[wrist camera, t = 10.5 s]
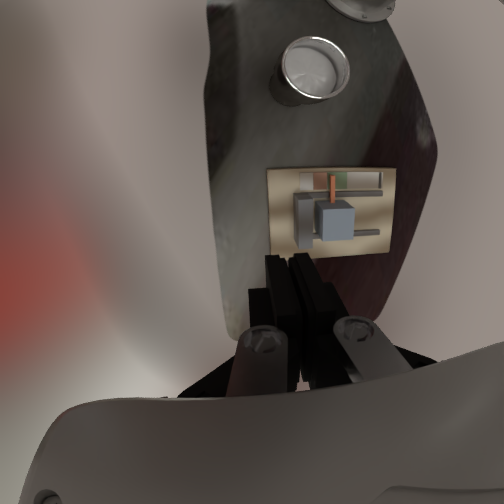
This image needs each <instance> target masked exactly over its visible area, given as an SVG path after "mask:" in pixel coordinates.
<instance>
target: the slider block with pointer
mask: <svg viewBox="0 0 504 504" xmlns="http://www.w3.org/2000/svg"><path fill="white" fill-rule="evenodd" d="M354 219H355V208H354V207H353V206H351V205H350V204H349V203H348V202H346V201H345V200H335V175H330V200H329V201H315V231H316V233H317V234H318V236H319V237H320V239H321V240H322V242H324V241H339V240H353V235H354Z"/></svg>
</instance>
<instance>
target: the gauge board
mask: <svg viewBox="0 0 504 504" xmlns="http://www.w3.org/2000/svg"><path fill="white" fill-rule="evenodd" d="M330 175H335V200H345V201H346V202H348V203H349V204H350V205H351V206H353V207H354V208H355V219H354V235H353V240H339V241H324V242H322V240H321V239H320V237H319V236H318V234H317V233H316V231H315V201H329V200H330ZM395 180H396V169H395V168H387V167H302V168H276V169H267V184H268V205H269V227H270V252H271V255H278V254H279V256H280V258H285V260H288V259H289V257H293V254H294V253H305V252H308V254H309V256H310V258H323V257H335V256H348V255H360V254H372V253H384V252H389V247H390V239H391V230H392V221H393V210H394V197H395Z"/></svg>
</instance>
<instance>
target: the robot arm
mask: <svg viewBox="0 0 504 504" xmlns="http://www.w3.org/2000/svg"><path fill="white" fill-rule="evenodd" d="M326 1H327V2H328V3H329V4H330V5H331V6H332V7H333V8H334V9H335V10H336V11H338V12H339V13H341V14H342V15H344V16H346V17H348V18H350V19H353V20H356V21H359V22H364V23H375V22H379V21H382V20H384V19H386V18H387V17H389V16H390V15H391V14H392V12H393V10H394V7H395V0H326ZM499 1H500V2H502V3H503V4H504V0H499ZM265 268H266V288H255V289H248V294H249V312H250V328H249V329H247V330H245V331H244V332H243V333H242V334H241V335H240V337H239V340H238V344H237V348H236V353H235V355H234V356H233V357H232V358H230V359H229V360H228V361H226V362H225V363H223V364H222V365H220V366H219V367H218V368H216V369H215V370H213V371H212V372H210V373H209V374H208V375H206V376H205V377H203V378H202V379H201V380H199V381H198V382H196V383H195V384H193V385H192V386H190V387H189V388H187V389H186V390H184V391H183V392H182V393H181V394H180V395H178V397H177V398H168V397H161V398H139V397H136V398H114V399H104V400H97V401H93V402H88V403H83V404H80V405H77V406H74V407H72V408H69V409H67V410H66V411H64V412H63V413H62V414H60V415H59V416H58V417H57V418H56V419H55V421H54V422H53V423H52V424H51V426H50V427H49V429H48V430H47V432H46V434H45V436H44V437H43V439H42V441H41V443H40V445H39V448H38V449H37V452H36V454H35V456H34V459H33V461H32V464H31V466H30V469H29V471H28V474H27V477H26V479H25V483H24V486H23V489H22V493H21V496H20V500H19V503H18V504H504V342H500V343H496V344H493V345H490V346H487V347H484V348H481V349H478V350H475V351H472V352H469V353H466V354H463V355H460V356H457V357H454V358H451V359H447V360H444V361H441V362H437V361H435V360H433V359H431V358H428V357H425V356H422V355H420V354H417V353H414V352H411V351H408V350H406V349H403V348H400V347H398V346H395V345H393V344H392V343H391V342H390V340H389V339H388V338H387V337H386V336H385V334H384V333H383V332H382V331H381V330H380V328H379V327H378V326H377V325H376V324H375V323H374V322H373V321H372V320H370V319H368V318H365V317H361V316H349V314H348V312H347V310H346V308H345V306H344V304H343V302H342V300H341V299H340V297H339V295H338V293H337V291H336V289H335V287H334V285H333V284H332V282H326V283H323V282H322V280H321V278H320V276H319V274H318V271H317V269H316V267H315V265H314V263H313V261H312V259H311V258H310V256H309V254H308V252H305V253H294V254H293V257H289V259H288V266H287V263H286V260H285V258H280V256H279V254H278V255H265ZM300 371H301V375H302V379H303V382H307V381H308V382H309V387H310V390H305V391H297V392H295V390H296V389H297V383H298V382H299V377H300Z"/></svg>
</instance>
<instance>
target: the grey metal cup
mask: <svg viewBox="0 0 504 504" xmlns="http://www.w3.org/2000/svg"><path fill="white" fill-rule="evenodd" d="M349 76H350V66H349V62H348V59H347V57H346V55H345V54H344V52H343V51H342V50H341V49H340V48H339V47H338V46H337V45H336V44H335V43H333V42H332V41H330V40H328V39H325V38H322V37H318V36H306V37H301V38H299V39H297V40H295V41H293V42H292V43H291V44H290V45H289V46H288V47H287V48H286V49H285V50H284V51H283V52H282V53H281V54H280V56H279V57H278V59H277V61H276V63H275V66H274V71H273V74H272V76H271V78H270V81H269V90H270V93H271V95H272V97H273V98H274V99H275V100H276V101H277V102H278V103H280V104H282V105H284V106H289V107H294V106H299V105H301V104H304V105H310V104H317V103H320V102H323V101H325V100H328V99H329V98H331V97H333V96H335V95H337V94H339V93H340V92H341V91H342V90H343V89H344V88H345V86H346V85H347V83H348V80H349Z"/></svg>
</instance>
